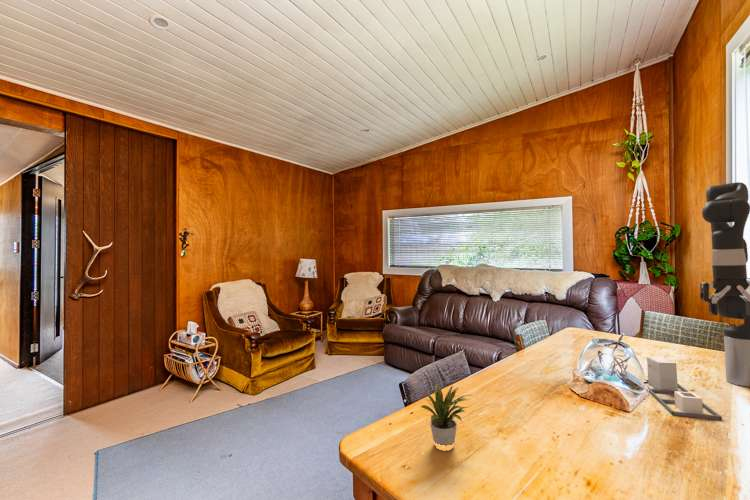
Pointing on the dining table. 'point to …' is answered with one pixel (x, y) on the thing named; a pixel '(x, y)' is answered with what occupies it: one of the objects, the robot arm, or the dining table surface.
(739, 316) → the robot arm
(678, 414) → the frame
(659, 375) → the small box
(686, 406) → the white and grey cube
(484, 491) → the dining table surface
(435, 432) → the house plant
